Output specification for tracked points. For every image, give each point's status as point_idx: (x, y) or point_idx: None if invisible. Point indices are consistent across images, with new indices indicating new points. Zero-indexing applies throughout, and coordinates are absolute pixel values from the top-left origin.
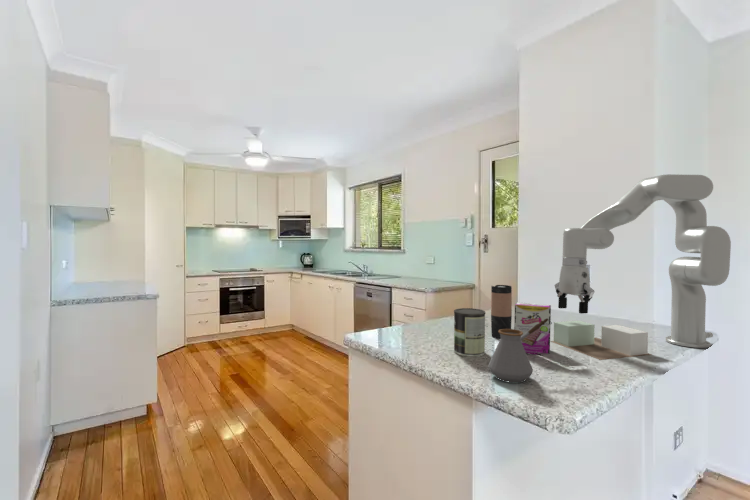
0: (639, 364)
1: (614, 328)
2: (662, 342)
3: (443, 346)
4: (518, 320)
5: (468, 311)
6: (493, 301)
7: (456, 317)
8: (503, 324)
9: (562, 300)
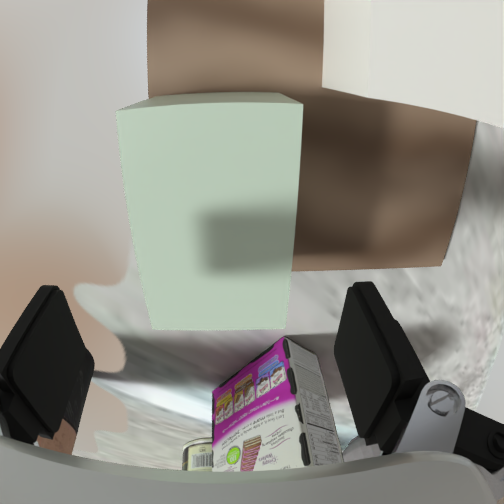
0: (497, 148)
1: (449, 84)
2: None
3: (167, 460)
4: None
5: None
6: None
7: None
8: (82, 408)
9: (52, 395)
